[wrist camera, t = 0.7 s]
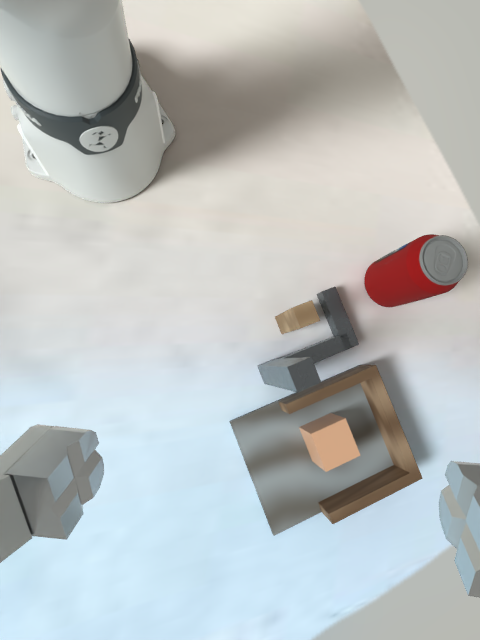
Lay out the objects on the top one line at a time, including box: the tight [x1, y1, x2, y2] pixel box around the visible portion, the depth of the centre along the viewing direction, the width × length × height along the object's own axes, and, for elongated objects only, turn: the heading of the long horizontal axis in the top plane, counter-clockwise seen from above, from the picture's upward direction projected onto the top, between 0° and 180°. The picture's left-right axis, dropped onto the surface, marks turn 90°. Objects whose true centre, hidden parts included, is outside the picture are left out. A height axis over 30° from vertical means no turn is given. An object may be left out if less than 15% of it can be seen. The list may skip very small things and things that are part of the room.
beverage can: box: [365, 235, 468, 307], centre depth 44 cm, size 7×7×12 cm
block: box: [299, 413, 360, 472], centre depth 44 cm, size 4×4×4 cm
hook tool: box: [258, 287, 359, 392], centre depth 41 cm, size 8×13×14 cm, turn 112°
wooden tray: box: [230, 365, 422, 535], centre depth 44 cm, size 14×19×4 cm
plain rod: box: [275, 300, 320, 334], centre depth 44 cm, size 2×2×8 cm
